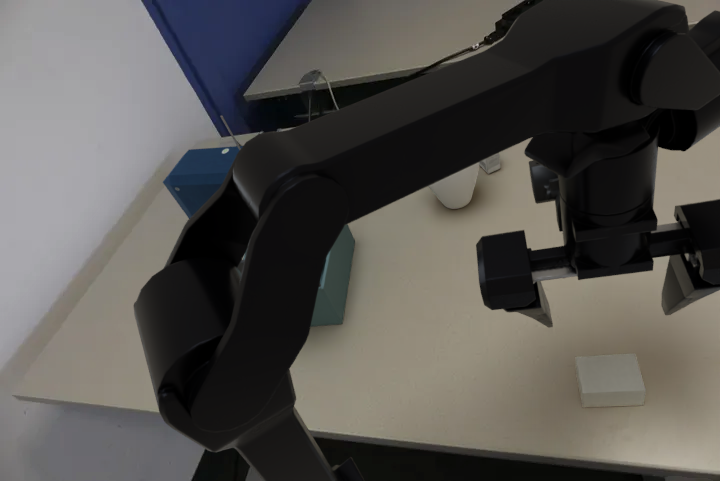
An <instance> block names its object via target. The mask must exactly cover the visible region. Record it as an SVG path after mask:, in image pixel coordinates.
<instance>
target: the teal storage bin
mask: <svg viewBox="0 0 720 481" xmlns="http://www.w3.org/2000/svg"><path fill="white" fill-rule="evenodd" d="M355 244H356V240H355V238H354V236H353V233H352V231H351V228H350V226H349V224H347V225H345V226H344V228H343V230H342V231H341V233H340V235H339V236H338V238H337V240H336V241H335V243H334V245H333V247H332V248H331V250H330V252H329V253H328V255H327V257H326V258H325V261H324V264H323V269H322V274H321V279H320V284H321V287H319V288H318V293H317V298H316V303H315V307H314V312H313V317H312V322H311V326H310V328H311V327H312V328H313V327H322V326H334V325H335V326H336V325H342V324H343V322H344V316H345V310H346V303H347V296H348V290H349V284H350V283H349V282H350V278H351V277H350V276H351V270H352V263H353V258H354V250H355ZM246 252H247V250H246ZM246 252H245V254H244V256H243V258H242V260H245V256H246Z"/></svg>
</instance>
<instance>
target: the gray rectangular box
mask: <svg viewBox="0 0 720 481" xmlns="http://www.w3.org/2000/svg"><path fill="white" fill-rule="evenodd" d="M574 359H575V360H574V363H575V364H574V367H575V369H574V371H575V376H576V381H577V388H578V391H579V398H580V402H581V407H582V408H604V407H605V408H606V407H609V408H610V407H636V406H637V407H638V406H644V405H645V399H646V393H647V389H646V385H645V382H644V379H643V376H642V372H641V368H640V365H639V362H638V358H637V355H636V353H635V352H630V353H614V354H600V355H599V354H598V355H597V354H596V355H583V356H581V355H580V356H575V357H574Z"/></svg>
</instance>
